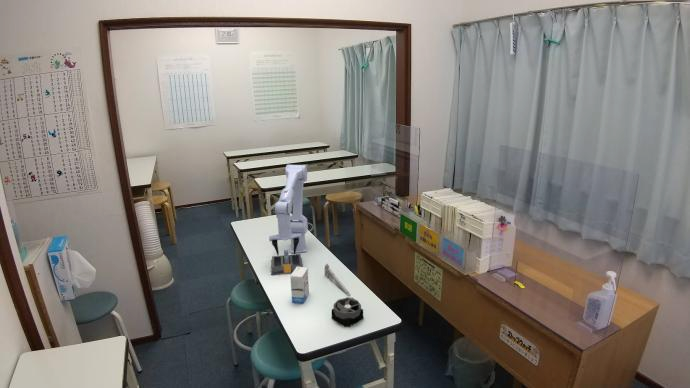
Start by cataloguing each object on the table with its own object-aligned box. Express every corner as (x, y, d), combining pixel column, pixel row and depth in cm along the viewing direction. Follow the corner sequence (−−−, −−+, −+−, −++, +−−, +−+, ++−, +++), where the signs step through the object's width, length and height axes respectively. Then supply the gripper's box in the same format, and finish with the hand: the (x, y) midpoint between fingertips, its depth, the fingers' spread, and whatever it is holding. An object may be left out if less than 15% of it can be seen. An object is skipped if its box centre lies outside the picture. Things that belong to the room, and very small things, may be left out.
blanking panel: (284, 261, 190) (283, 250, 188) (288, 261, 190) (288, 249, 189) (285, 269, 183) (284, 257, 181) (289, 268, 183) (288, 257, 181)
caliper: (324, 275, 178) (324, 263, 176) (326, 275, 179) (326, 262, 177) (348, 297, 161) (348, 283, 159) (350, 296, 161) (350, 282, 160)
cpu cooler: (346, 316, 138) (327, 304, 146) (346, 330, 140) (327, 318, 147) (367, 304, 145) (347, 294, 152) (366, 318, 147) (348, 307, 154)
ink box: (303, 303, 156) (302, 277, 153) (291, 302, 157) (289, 276, 154) (309, 292, 164) (308, 266, 161) (298, 291, 165) (296, 265, 162)
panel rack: (271, 261, 192) (270, 252, 190) (301, 258, 194) (301, 250, 193) (271, 275, 179) (270, 266, 177) (303, 272, 181) (303, 263, 180)
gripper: (268, 231, 175) (270, 259, 179) (301, 228, 178) (302, 256, 182) (268, 225, 182) (270, 252, 186) (300, 223, 184) (301, 249, 188)
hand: (286, 253), depth 184 cm, fingers open, 7 cm apart
